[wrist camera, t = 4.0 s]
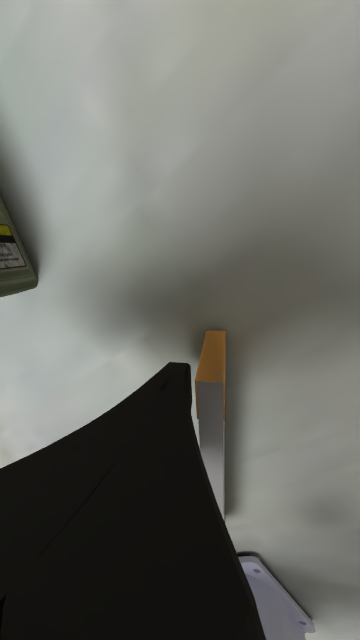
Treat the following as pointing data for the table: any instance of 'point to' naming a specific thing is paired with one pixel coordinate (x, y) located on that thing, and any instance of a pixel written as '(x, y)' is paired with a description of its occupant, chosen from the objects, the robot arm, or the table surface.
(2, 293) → the handheld radio
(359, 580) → the table surface
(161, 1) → the table surface
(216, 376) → the side door
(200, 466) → the robot arm
